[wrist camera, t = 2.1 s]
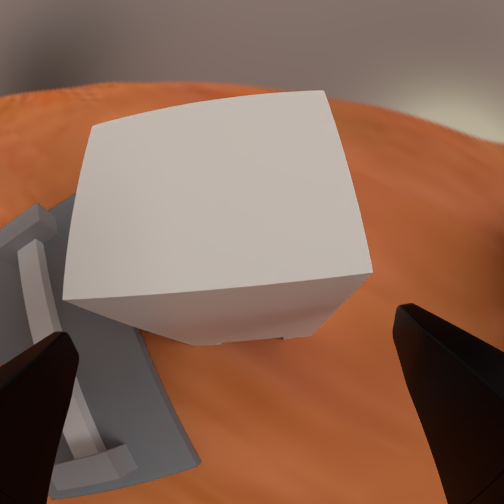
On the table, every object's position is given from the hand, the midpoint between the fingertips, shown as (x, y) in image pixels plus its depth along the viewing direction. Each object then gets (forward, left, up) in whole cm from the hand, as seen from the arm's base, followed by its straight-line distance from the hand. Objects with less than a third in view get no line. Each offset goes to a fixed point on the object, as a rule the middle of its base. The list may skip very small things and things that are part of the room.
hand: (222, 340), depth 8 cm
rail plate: (-7, +11, -10) cm, 16 cm away
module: (+3, +2, -10) cm, 11 cm away
